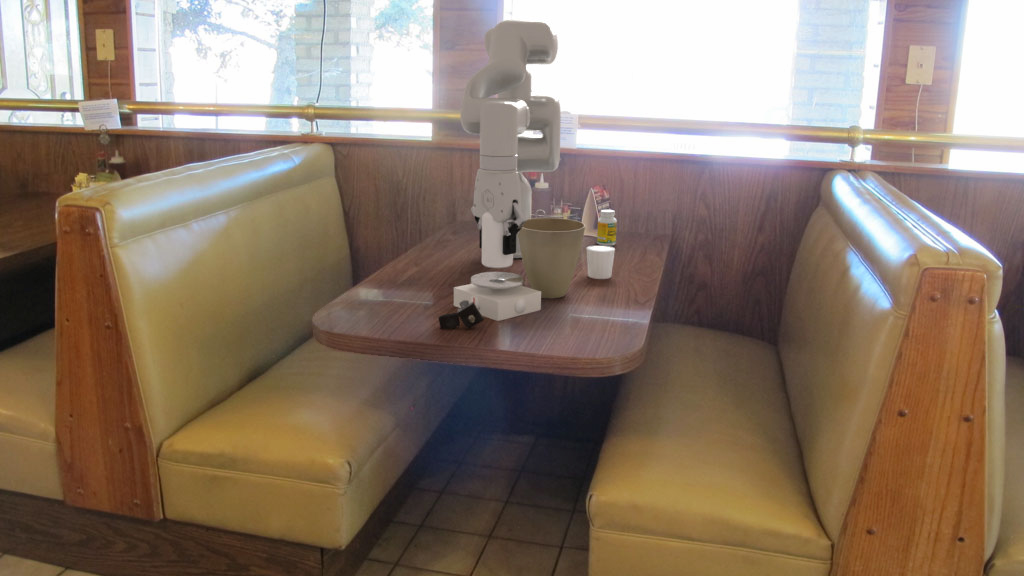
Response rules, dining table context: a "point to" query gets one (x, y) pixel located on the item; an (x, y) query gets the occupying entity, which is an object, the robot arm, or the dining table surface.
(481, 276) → the scale pan
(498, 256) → the can
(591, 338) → the dining table surface
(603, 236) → the supplement bottle
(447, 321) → the lighter
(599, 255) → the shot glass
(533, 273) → the plant pot
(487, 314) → the scale housing
